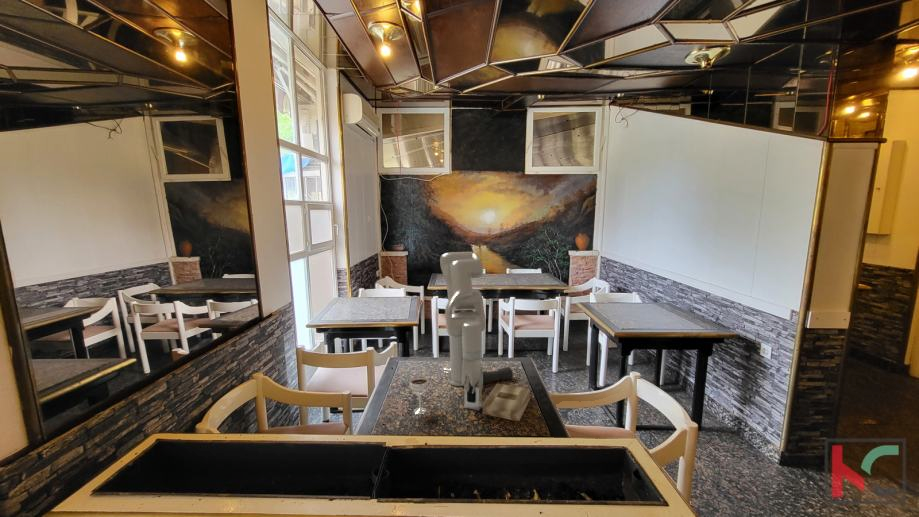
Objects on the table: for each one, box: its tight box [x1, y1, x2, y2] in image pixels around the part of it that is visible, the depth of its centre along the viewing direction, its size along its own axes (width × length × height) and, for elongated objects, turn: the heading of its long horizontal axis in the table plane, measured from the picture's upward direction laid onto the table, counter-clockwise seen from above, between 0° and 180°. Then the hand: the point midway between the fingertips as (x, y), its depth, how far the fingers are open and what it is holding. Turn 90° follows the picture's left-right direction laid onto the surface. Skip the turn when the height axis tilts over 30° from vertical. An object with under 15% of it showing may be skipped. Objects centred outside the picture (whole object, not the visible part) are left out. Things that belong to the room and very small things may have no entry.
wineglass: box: [410, 376, 429, 415], centre depth 129 cm, size 7×7×12 cm
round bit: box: [479, 367, 484, 391], centre depth 146 cm, size 5×5×9 cm
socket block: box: [481, 383, 531, 422], centre depth 132 cm, size 14×18×4 cm
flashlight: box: [483, 366, 515, 385], centre depth 154 cm, size 15×5×5 cm, turn 111°
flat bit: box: [463, 384, 483, 411], centre depth 131 cm, size 6×3×9 cm, turn 66°
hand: (473, 399), depth 131 cm, fingers closed on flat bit, 3 cm apart
